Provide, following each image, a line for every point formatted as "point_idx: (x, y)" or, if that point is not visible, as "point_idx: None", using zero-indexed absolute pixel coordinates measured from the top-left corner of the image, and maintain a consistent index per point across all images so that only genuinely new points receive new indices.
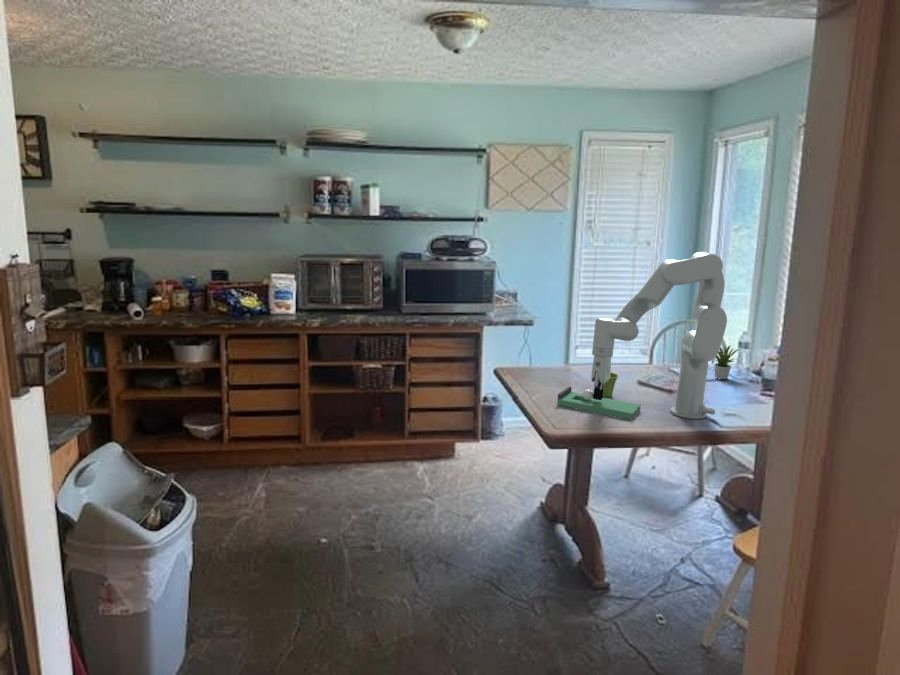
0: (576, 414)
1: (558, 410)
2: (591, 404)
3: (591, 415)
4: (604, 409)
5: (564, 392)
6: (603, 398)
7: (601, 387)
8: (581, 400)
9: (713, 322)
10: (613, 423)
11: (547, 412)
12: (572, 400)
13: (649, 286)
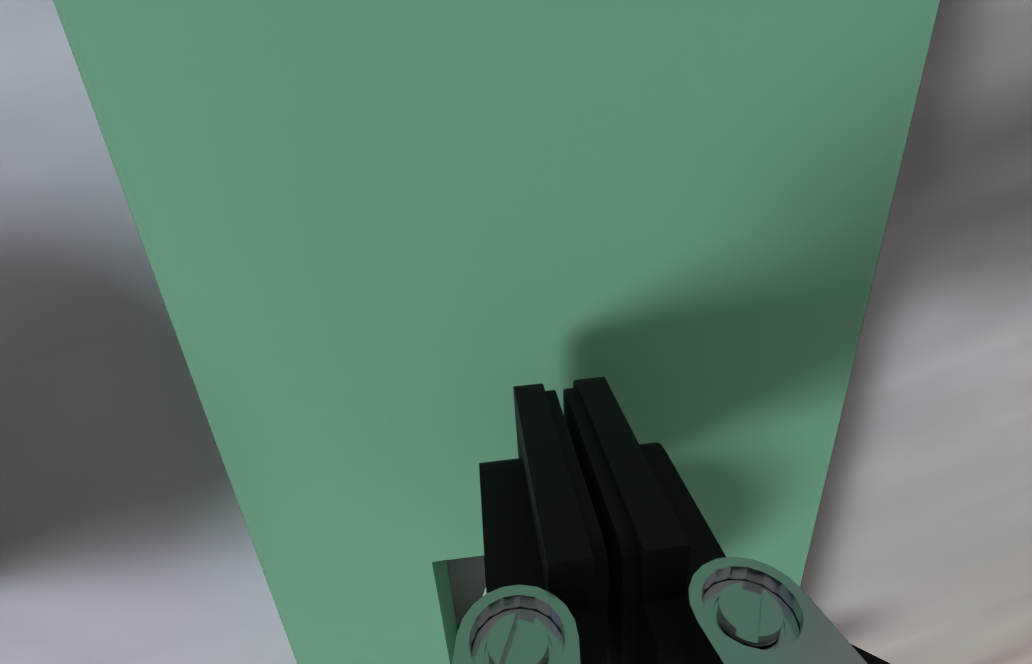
0: (964, 433)
1: (892, 599)
2: (776, 423)
3: (937, 283)
4: (879, 160)
5: None
6: (256, 417)
7: (818, 648)
8: (449, 600)
9: None
10: None
11: (998, 629)
12: None
13: None
